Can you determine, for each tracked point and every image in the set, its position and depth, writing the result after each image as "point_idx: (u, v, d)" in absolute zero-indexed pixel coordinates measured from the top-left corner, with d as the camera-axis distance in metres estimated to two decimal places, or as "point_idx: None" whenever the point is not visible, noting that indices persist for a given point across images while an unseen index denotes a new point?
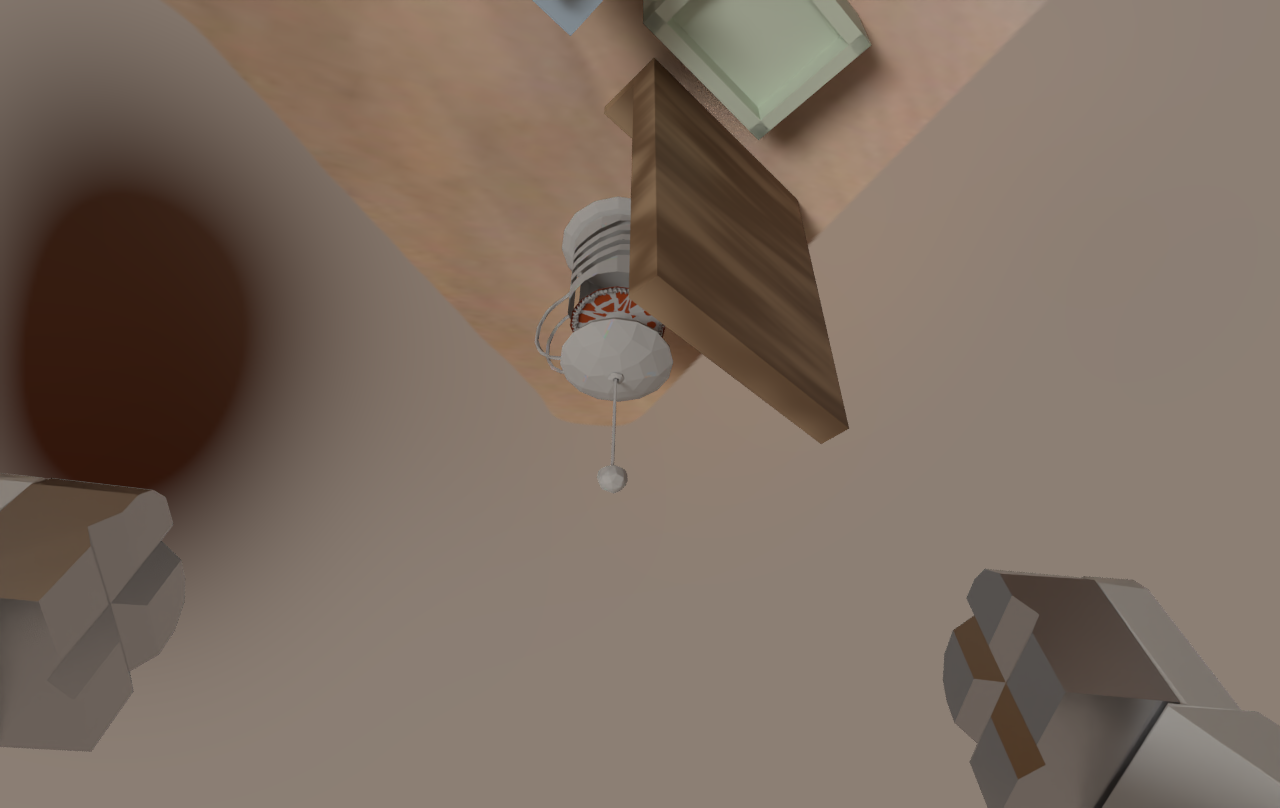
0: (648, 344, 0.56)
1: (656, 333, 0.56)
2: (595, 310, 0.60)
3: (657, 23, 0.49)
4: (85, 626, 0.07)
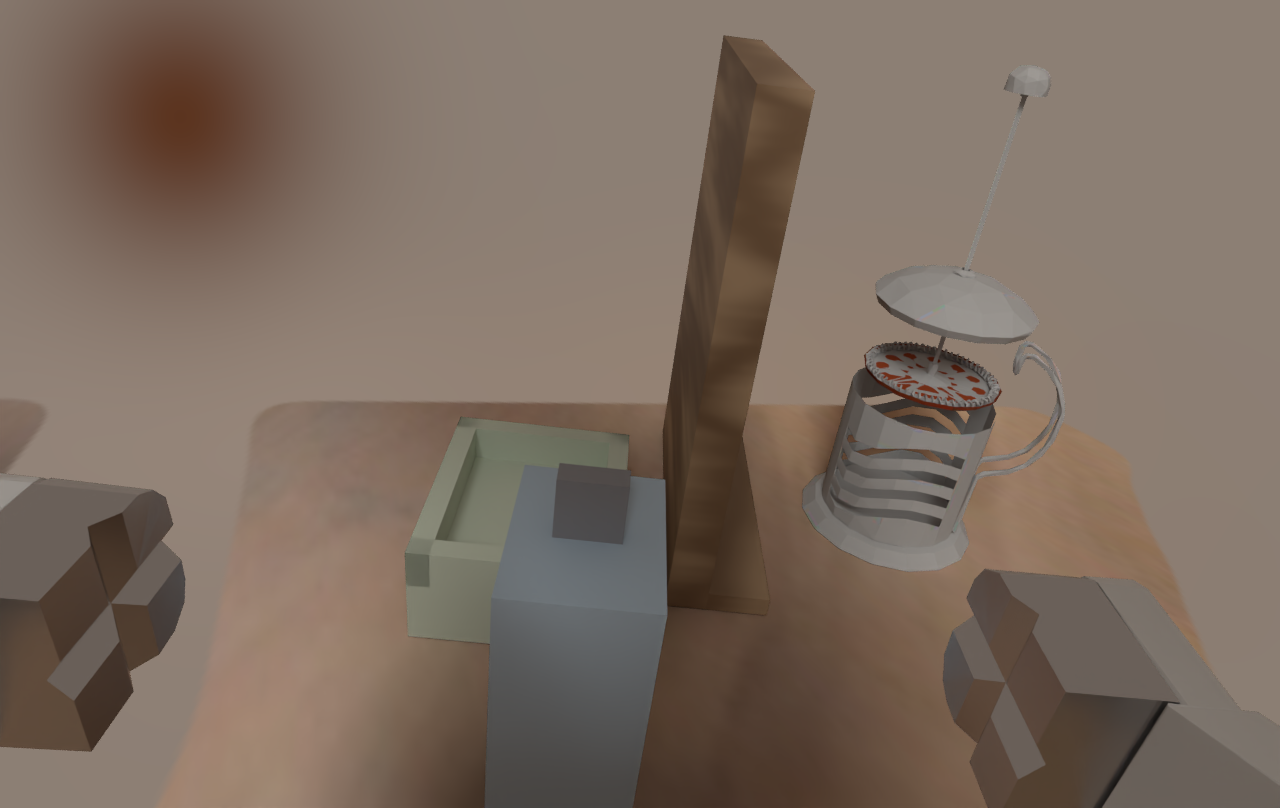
0: (895, 284, 0.41)
1: (878, 292, 0.41)
2: (947, 396, 0.42)
3: None
4: (84, 626, 0.07)
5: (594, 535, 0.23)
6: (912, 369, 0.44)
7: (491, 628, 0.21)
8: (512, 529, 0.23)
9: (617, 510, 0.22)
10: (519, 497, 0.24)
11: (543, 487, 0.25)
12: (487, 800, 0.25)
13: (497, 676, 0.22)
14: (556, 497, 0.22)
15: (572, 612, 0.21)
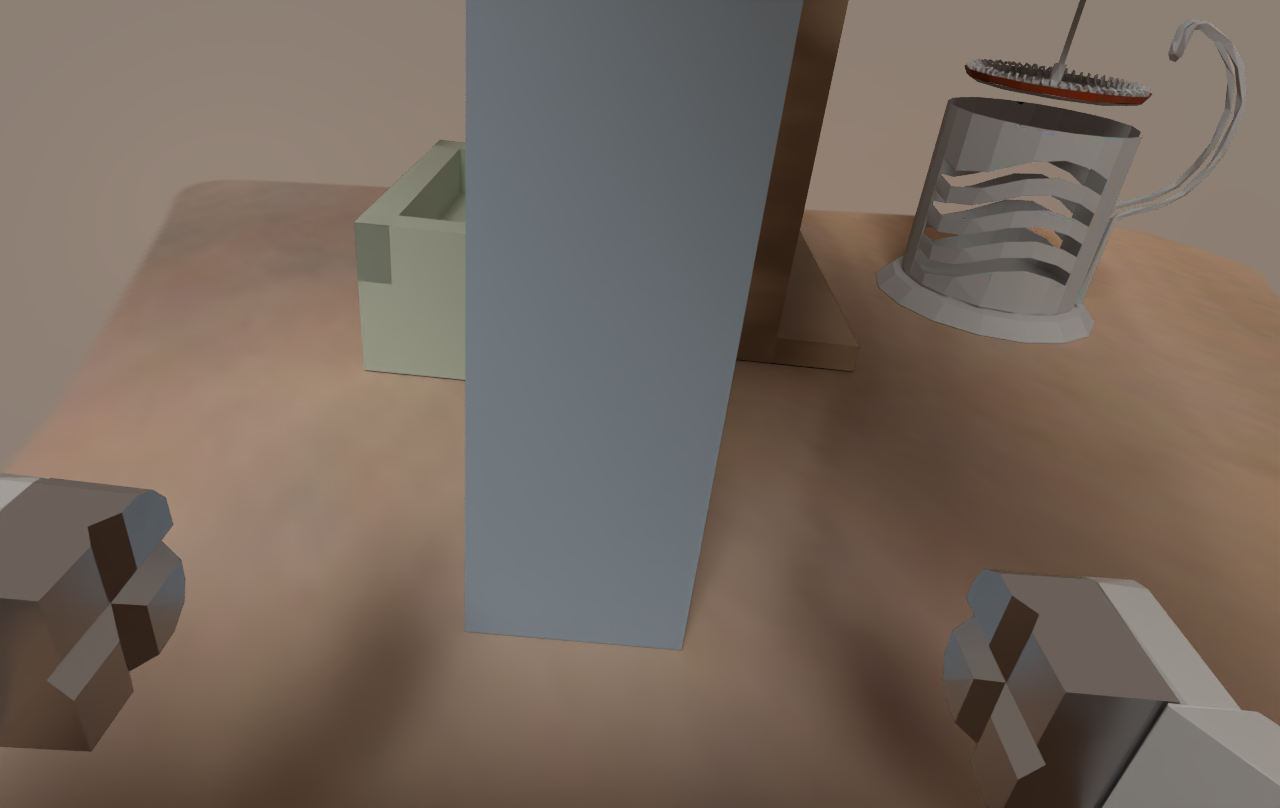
0: None
1: None
2: None
3: None
4: (84, 626, 0.07)
5: None
6: (1028, 80, 0.34)
7: None
8: None
9: None
10: None
11: None
12: (470, 440, 0.14)
13: (480, 123, 0.12)
14: None
15: None
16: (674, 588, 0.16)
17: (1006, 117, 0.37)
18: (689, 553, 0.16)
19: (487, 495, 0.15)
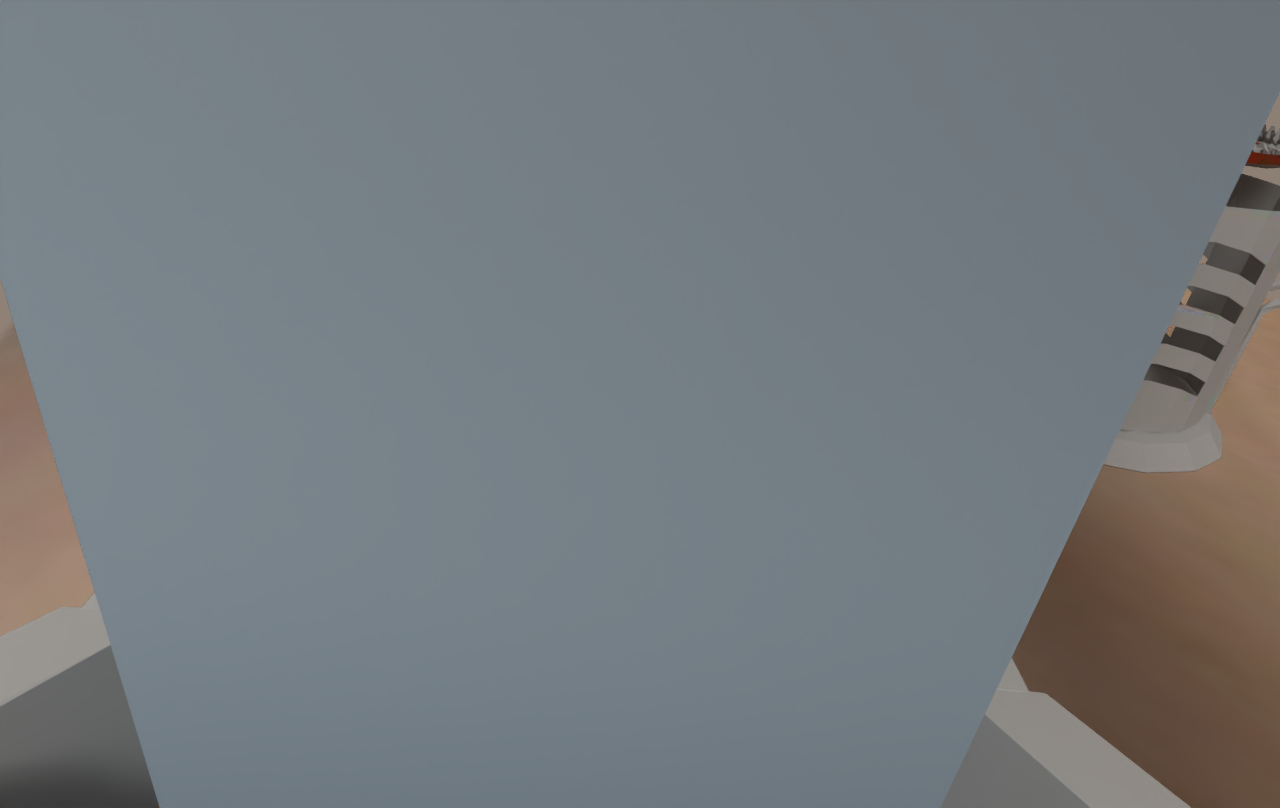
0: None
1: None
2: None
3: None
4: None
5: None
6: None
7: None
8: None
9: None
10: None
11: None
12: None
13: (122, 524, 0.04)
14: None
15: None
16: None
17: None
18: None
19: None
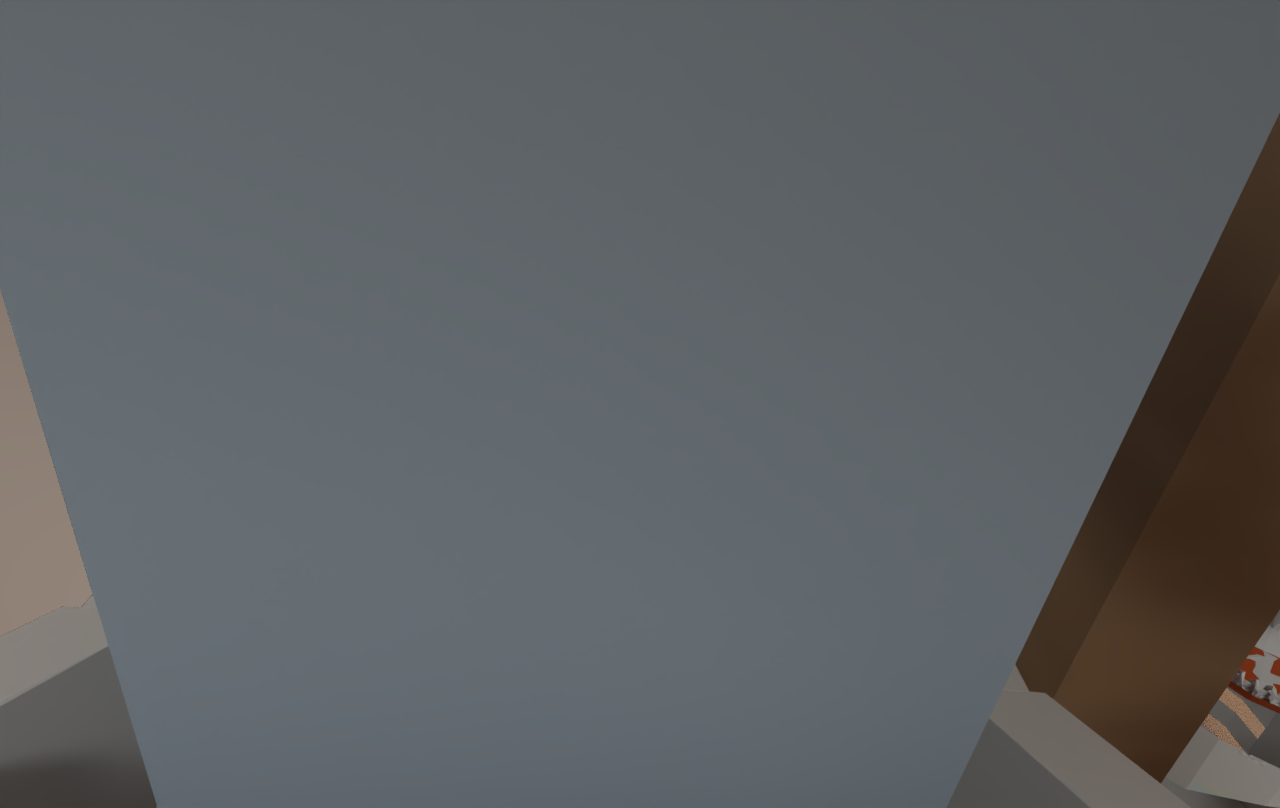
0: None
1: None
2: None
3: None
4: None
5: None
6: None
7: None
8: None
9: None
10: None
11: None
12: None
13: (122, 527, 0.04)
14: None
15: None
16: None
17: None
18: None
19: None
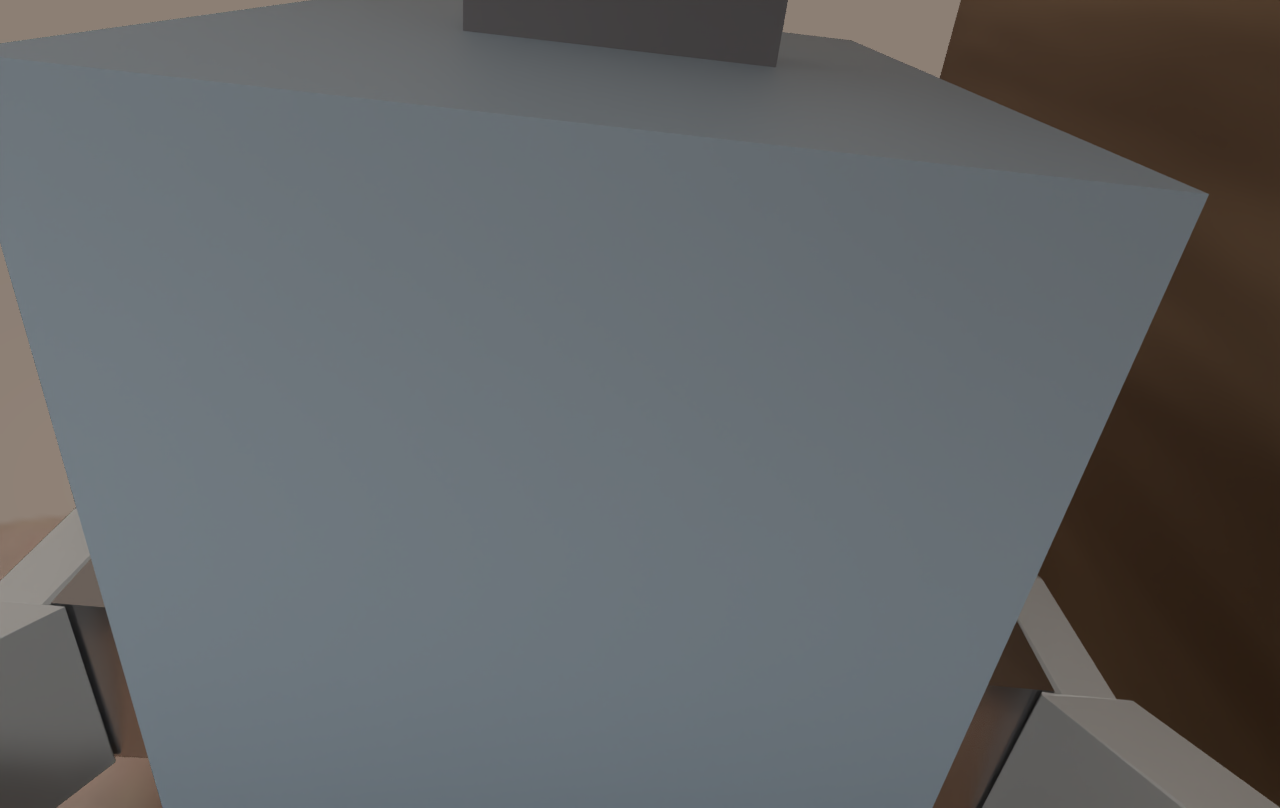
0: None
1: None
2: None
3: None
4: None
5: (654, 17, 0.05)
6: None
7: (32, 333, 0.03)
8: (290, 7, 0.05)
9: None
10: None
11: (455, 2, 0.07)
12: None
13: (160, 652, 0.04)
14: None
15: (550, 181, 0.03)
16: None
17: None
18: None
19: None
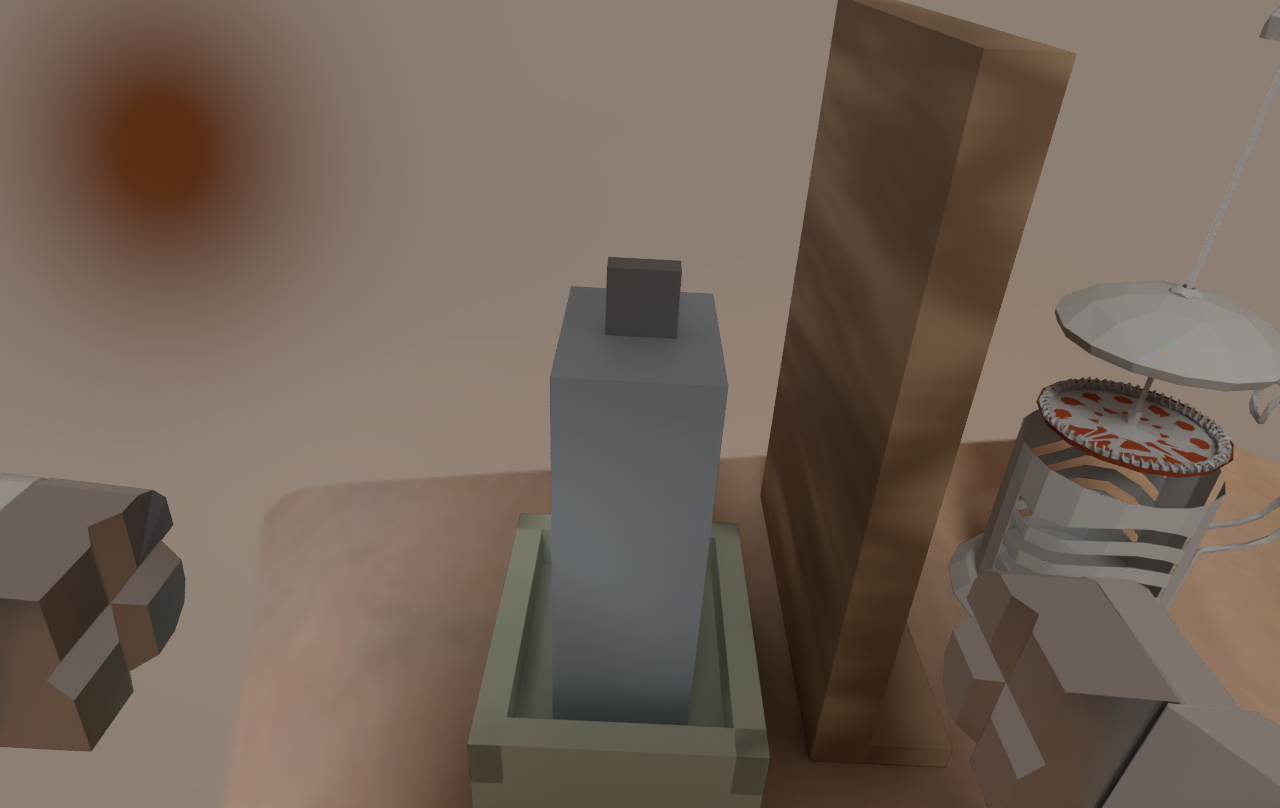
0: (1090, 312, 0.30)
1: (1066, 323, 0.31)
2: (1164, 455, 0.31)
3: (747, 738, 0.25)
4: (85, 625, 0.07)
5: (647, 330, 0.23)
6: (1102, 417, 0.34)
7: (551, 413, 0.21)
8: (564, 330, 0.23)
9: (670, 299, 0.22)
10: (568, 308, 0.24)
11: (591, 301, 0.25)
12: (554, 616, 0.25)
13: (559, 469, 0.22)
14: (607, 288, 0.22)
15: (632, 389, 0.21)
16: (679, 690, 0.26)
17: None
18: (687, 671, 0.26)
19: (565, 644, 0.25)
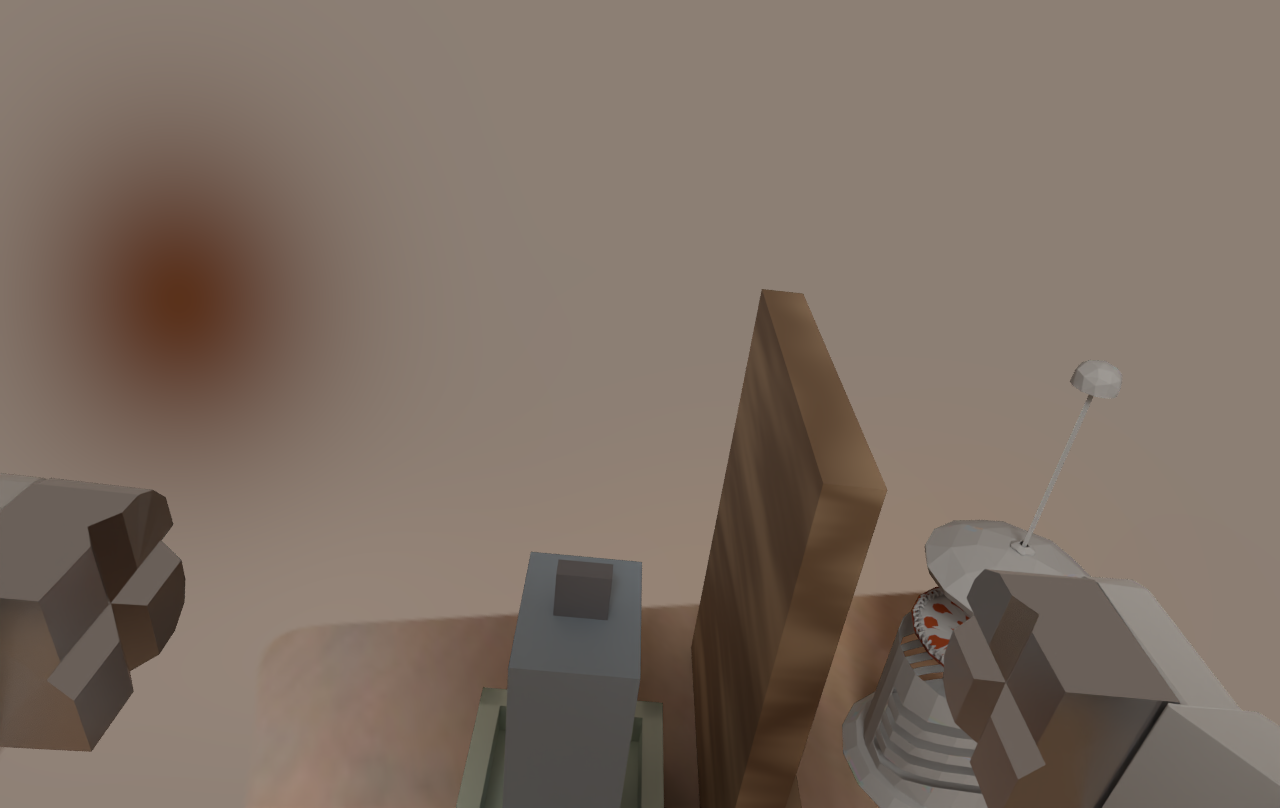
0: (947, 557, 0.38)
1: (929, 564, 0.38)
2: None
3: None
4: (84, 626, 0.07)
5: (586, 614, 0.30)
6: None
7: (508, 689, 0.28)
8: (522, 609, 0.30)
9: (603, 596, 0.29)
10: (527, 581, 0.31)
11: (545, 571, 0.32)
12: None
13: (512, 724, 0.29)
14: (556, 586, 0.29)
15: (569, 677, 0.28)
16: None
17: None
18: None
19: None
